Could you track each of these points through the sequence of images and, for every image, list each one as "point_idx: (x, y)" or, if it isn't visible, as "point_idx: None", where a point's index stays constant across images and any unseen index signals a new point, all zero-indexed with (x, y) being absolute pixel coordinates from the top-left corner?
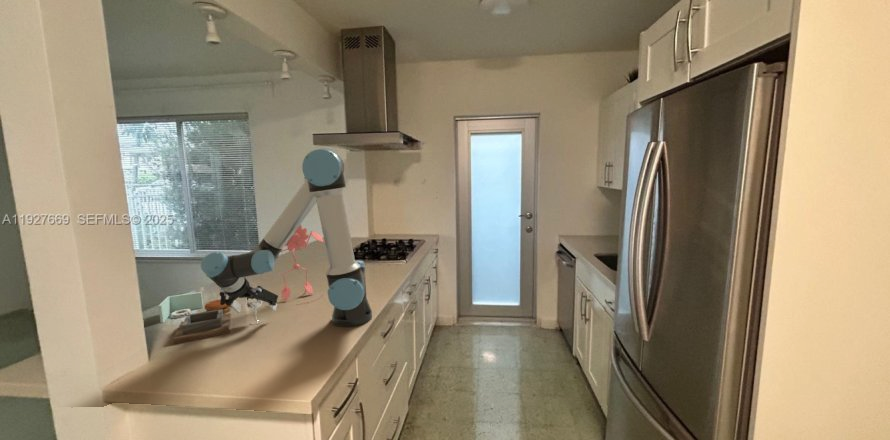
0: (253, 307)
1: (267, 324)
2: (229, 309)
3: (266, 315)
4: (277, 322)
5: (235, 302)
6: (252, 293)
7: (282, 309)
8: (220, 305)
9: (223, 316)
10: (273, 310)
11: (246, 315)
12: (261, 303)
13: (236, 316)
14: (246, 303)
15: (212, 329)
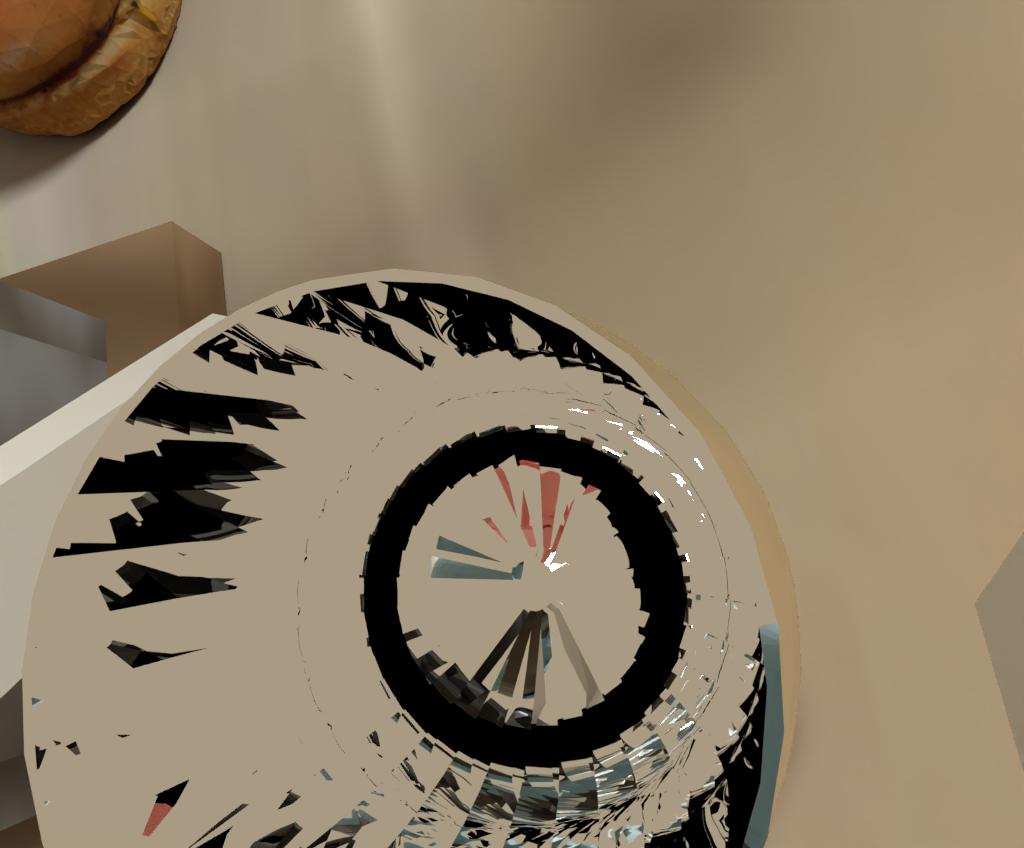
0: (531, 790)
1: (801, 748)
2: (165, 10)
3: (688, 312)
4: (981, 730)
5: (11, 537)
6: (324, 332)
7: (914, 111)
8: (2, 17)
9: (109, 339)
10: (983, 624)
11: (394, 229)
12: (744, 688)
13: (279, 231)
14: (294, 739)
15: (37, 835)
